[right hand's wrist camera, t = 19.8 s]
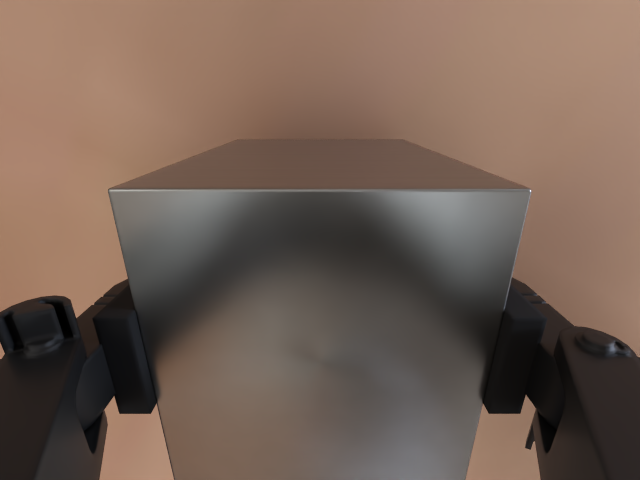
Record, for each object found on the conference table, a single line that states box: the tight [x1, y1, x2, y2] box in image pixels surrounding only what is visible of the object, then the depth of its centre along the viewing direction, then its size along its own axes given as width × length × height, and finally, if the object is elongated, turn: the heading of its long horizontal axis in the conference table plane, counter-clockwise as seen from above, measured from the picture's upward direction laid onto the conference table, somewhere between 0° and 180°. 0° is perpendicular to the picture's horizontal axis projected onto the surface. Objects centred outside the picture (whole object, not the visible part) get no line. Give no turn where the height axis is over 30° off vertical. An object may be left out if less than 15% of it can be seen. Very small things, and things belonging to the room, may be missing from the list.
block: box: [108, 140, 531, 480], centre depth 13 cm, size 8×8×11 cm
